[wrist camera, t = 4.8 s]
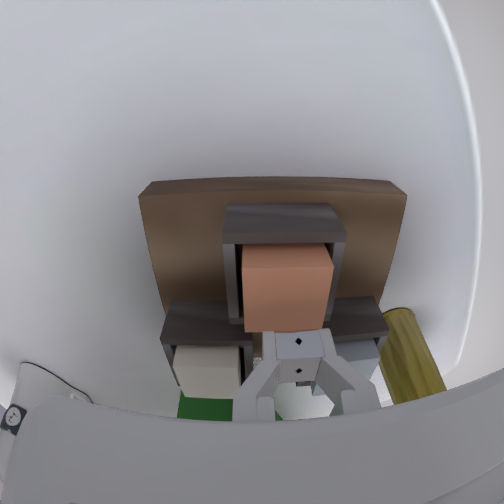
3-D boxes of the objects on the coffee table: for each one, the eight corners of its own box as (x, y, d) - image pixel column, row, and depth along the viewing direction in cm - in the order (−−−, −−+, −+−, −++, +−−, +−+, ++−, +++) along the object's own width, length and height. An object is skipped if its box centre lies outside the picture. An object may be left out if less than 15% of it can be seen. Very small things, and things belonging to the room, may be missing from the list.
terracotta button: (312, 293, 18) (321, 329, 16) (245, 295, 18) (244, 332, 16) (320, 234, 16) (334, 266, 13) (243, 235, 16) (241, 268, 13)
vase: (371, 351, 30) (403, 456, 18) (360, 322, 28) (401, 445, 15) (415, 330, 29) (459, 430, 17) (411, 298, 26) (469, 411, 14)
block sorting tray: (354, 328, 28) (372, 381, 22) (183, 333, 28) (171, 389, 22) (389, 181, 20) (437, 220, 14) (151, 182, 20) (113, 223, 14)
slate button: (355, 359, 22) (364, 389, 20) (307, 364, 22) (312, 395, 20) (368, 325, 20) (380, 357, 17) (314, 330, 20) (321, 364, 17)
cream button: (241, 366, 22) (240, 398, 20) (189, 365, 22) (184, 396, 20) (238, 333, 20) (237, 368, 17) (180, 332, 20) (172, 366, 17)
